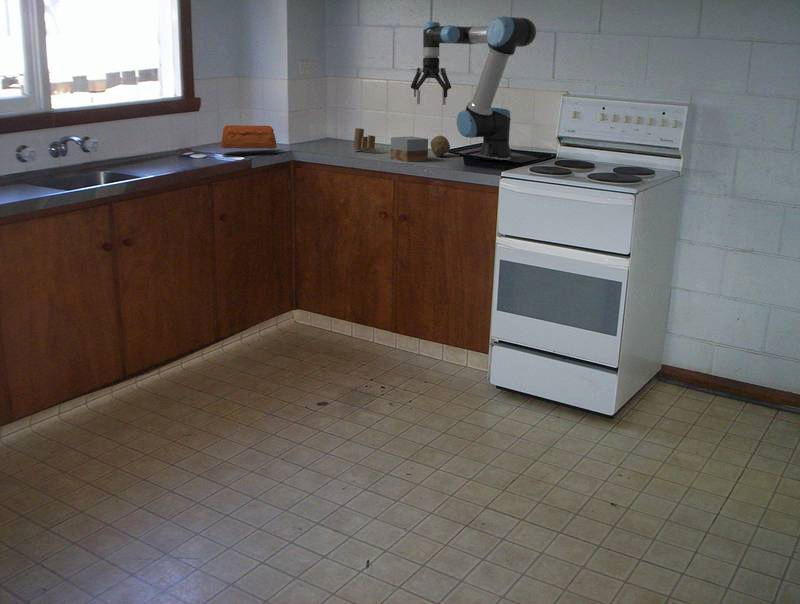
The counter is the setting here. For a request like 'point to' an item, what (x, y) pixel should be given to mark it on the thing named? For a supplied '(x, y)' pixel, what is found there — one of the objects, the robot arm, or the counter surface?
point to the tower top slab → (409, 143)
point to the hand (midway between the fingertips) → (430, 104)
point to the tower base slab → (409, 155)
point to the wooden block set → (363, 140)
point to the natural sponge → (440, 146)
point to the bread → (248, 137)
